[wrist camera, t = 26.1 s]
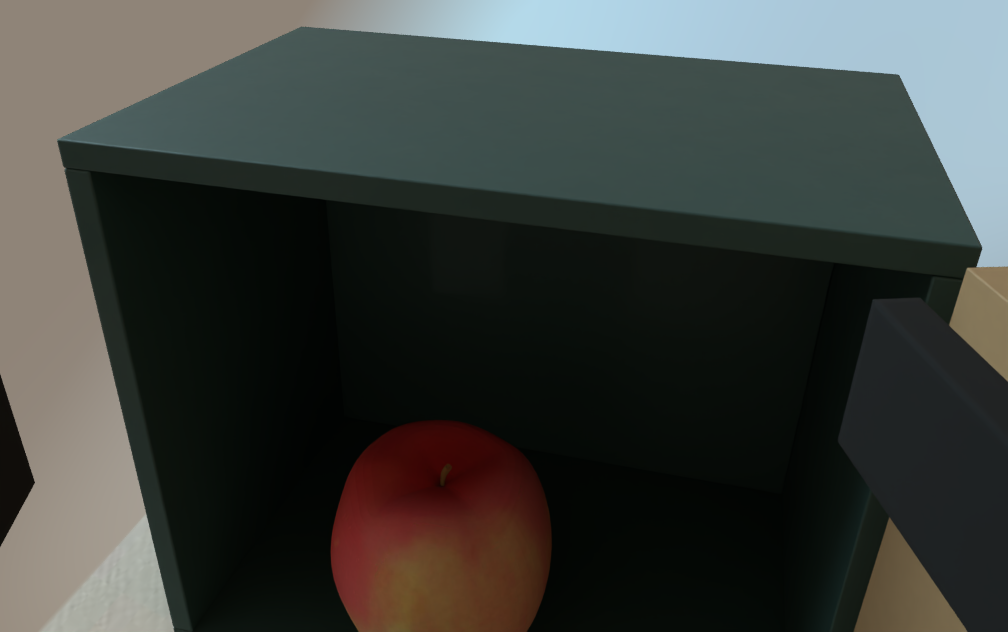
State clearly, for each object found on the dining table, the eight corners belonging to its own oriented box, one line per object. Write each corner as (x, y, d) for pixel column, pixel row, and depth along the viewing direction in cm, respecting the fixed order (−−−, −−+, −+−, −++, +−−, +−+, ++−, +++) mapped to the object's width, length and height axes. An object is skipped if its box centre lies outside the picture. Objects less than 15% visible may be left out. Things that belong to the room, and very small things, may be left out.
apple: (295, 643, 40) (269, 469, 35) (439, 529, 46) (435, 367, 41) (455, 774, 35) (452, 590, 30) (593, 624, 41) (610, 453, 36)
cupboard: (808, 797, 35) (983, 247, 23) (176, 643, 41) (55, 138, 29) (797, 500, 50) (899, 74, 38) (336, 418, 56) (300, 26, 44)
